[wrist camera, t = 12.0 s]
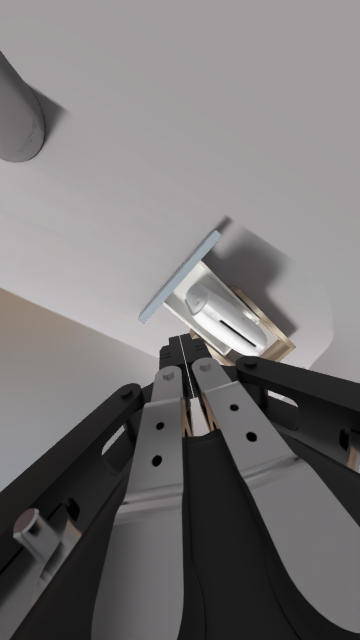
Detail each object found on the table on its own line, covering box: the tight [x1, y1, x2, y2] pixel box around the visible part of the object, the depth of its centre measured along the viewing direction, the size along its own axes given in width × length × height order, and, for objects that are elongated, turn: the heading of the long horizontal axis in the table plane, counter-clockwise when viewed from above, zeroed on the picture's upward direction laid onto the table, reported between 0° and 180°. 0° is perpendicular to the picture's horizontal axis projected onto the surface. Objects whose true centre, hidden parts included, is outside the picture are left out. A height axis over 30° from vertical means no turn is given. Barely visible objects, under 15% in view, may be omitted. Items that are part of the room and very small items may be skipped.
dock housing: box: [189, 286, 296, 366], centre depth 33 cm, size 16×11×4 cm
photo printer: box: [185, 284, 267, 356], centre depth 26 cm, size 10×4×12 cm, turn 53°
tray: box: [138, 230, 261, 356], centre depth 30 cm, size 16×17×4 cm
